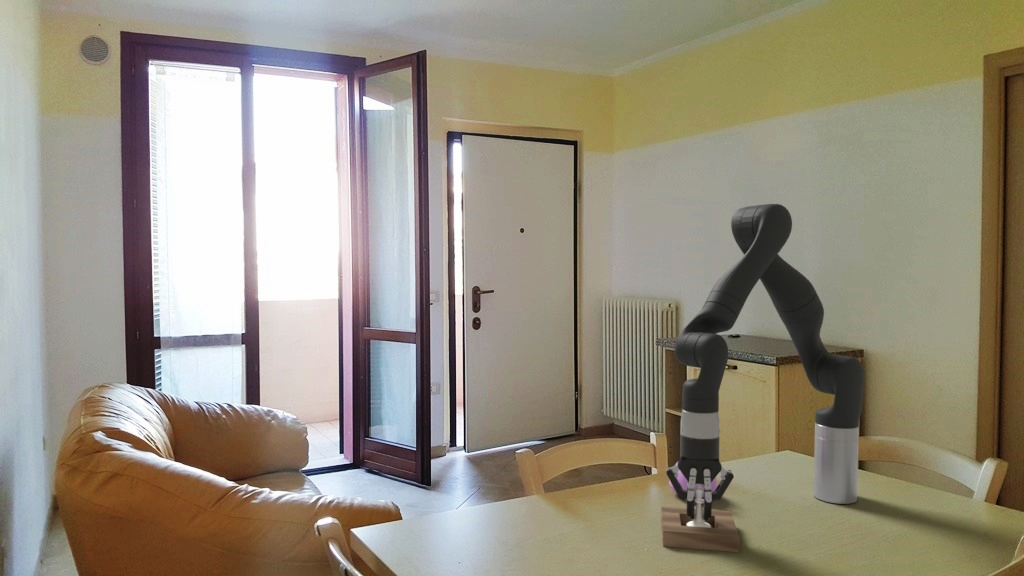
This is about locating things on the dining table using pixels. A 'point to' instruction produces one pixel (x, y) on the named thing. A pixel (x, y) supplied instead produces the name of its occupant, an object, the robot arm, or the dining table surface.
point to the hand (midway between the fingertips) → (698, 518)
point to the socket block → (699, 530)
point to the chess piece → (699, 509)
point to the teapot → (684, 481)
